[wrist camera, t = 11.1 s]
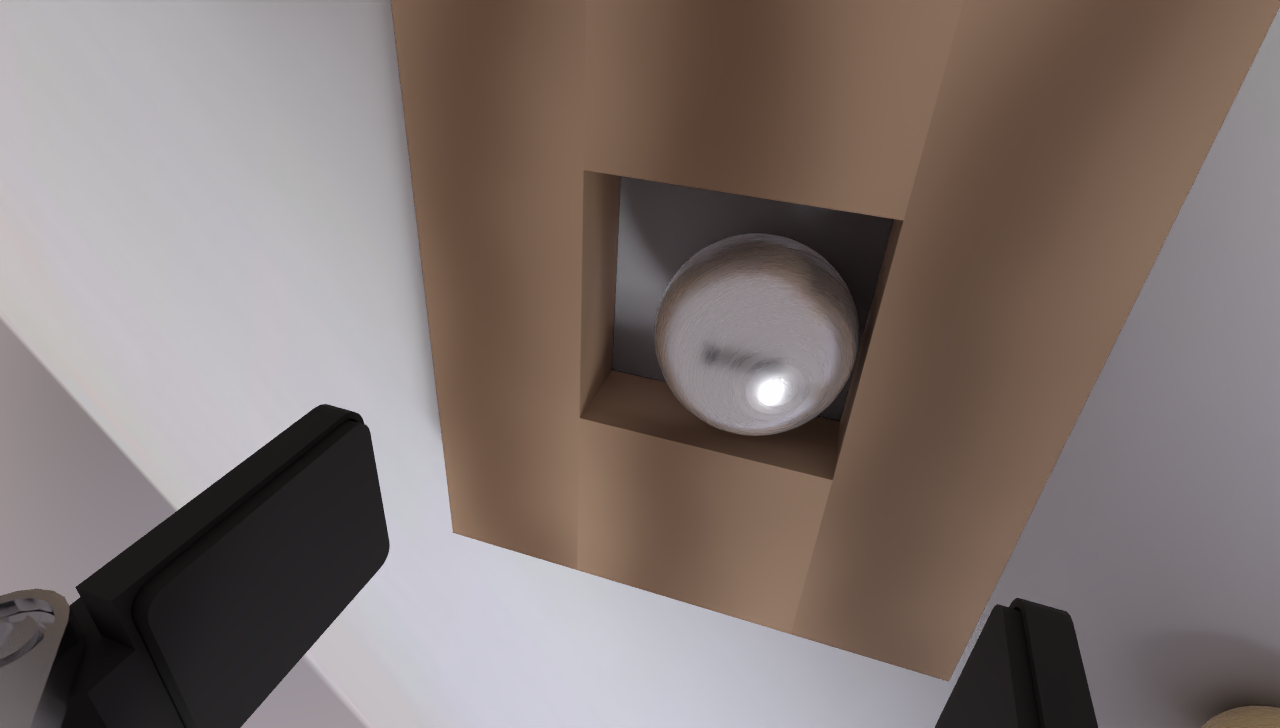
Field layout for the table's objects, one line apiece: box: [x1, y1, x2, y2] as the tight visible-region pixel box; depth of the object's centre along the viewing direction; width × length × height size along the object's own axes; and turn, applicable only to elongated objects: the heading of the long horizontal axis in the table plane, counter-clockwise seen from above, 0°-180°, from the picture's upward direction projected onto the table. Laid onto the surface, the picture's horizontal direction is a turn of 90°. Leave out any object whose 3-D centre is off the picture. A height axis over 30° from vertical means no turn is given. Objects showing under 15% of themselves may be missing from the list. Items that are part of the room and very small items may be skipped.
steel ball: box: [654, 233, 859, 436], centre depth 16 cm, size 4×4×4 cm
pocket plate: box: [391, 0, 1280, 681], centre depth 17 cm, size 15×18×2 cm
